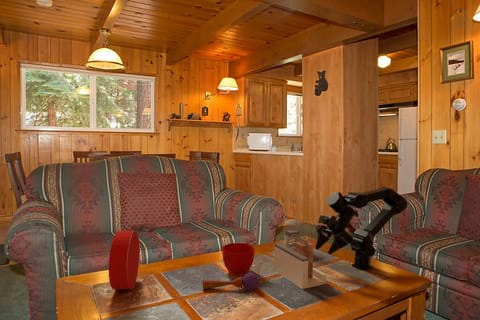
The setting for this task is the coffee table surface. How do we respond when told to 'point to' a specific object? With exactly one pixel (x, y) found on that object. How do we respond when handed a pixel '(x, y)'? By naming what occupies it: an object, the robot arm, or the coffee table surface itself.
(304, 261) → the cleat board
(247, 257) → the ceramic cup
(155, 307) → the coffee table surface
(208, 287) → the kendama
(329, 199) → the robot arm
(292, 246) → the french press
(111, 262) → the toy clock
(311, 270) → the block
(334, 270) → the coffee table surface
